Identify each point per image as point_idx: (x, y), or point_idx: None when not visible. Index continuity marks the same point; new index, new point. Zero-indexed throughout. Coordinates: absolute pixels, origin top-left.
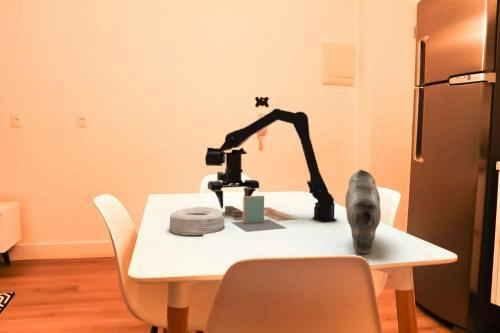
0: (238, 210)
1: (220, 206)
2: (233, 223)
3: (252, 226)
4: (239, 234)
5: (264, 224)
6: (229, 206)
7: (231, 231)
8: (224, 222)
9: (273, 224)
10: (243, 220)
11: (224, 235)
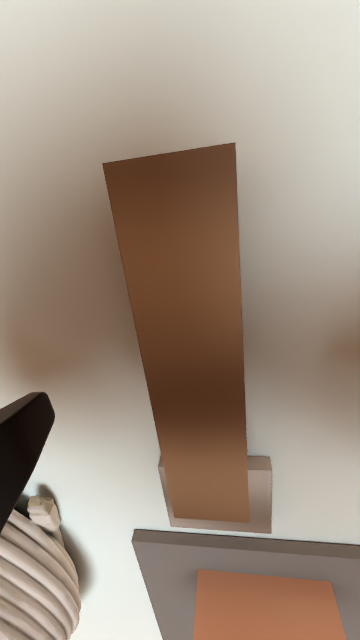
0: (224, 482)
1: (14, 402)
2: (140, 561)
3: None
4: (142, 636)
5: None
6: (177, 201)
7: (117, 607)
8: (75, 628)
9: (352, 636)
10: (197, 591)
11: (85, 626)
